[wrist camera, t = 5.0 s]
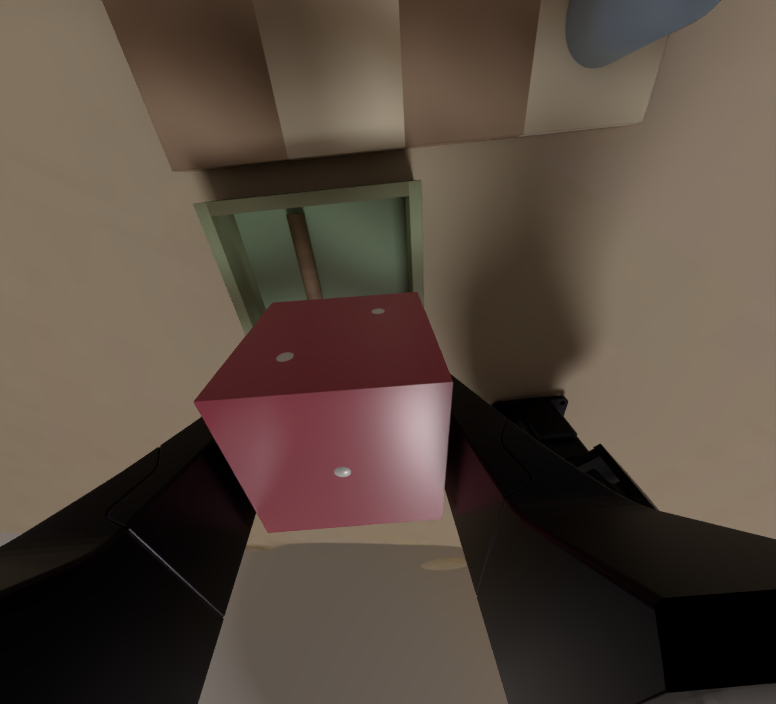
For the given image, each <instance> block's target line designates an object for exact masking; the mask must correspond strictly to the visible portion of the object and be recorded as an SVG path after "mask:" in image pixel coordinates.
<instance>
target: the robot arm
mask: <svg viewBox="0 0 776 704" xmlns="http://www.w3.org/2000/svg"><path fill="white" fill-rule="evenodd" d="M450 375H451V374H450ZM451 378H452V380H453V389H452V401H451V413H450V425H449V438H448V450H447V462H446V474H445V486H444V488H445V491H446V494H447V498H448V501H449V504H450V508H451V511H452V515H453V518H454V521H455V525H456V528H457V532H458V535H459V538H460V542H461V545H462V548H463V552H464V555H465V559H466V562H467V565H468V569H469V572H470V575H471V579H472V582H473V586H474V589H475V592H476V595H477V599H478V603H479V606H480V610H481V613H482V616H483V619H484V623H485V627H486V630H487V633H488V636H489V640H490V643H491V647H492V650H493V654H494V657H495V660H496V663H497V667H498V670H499V674H500V677H501V681H502V684H503V687H504V691H505V694H506V697H507V701H508V704H776V539H772V538H768V537H764V536H760V535H756V534H752V533H748V532H744V531H740V530H736V529H731V528H727V527H723V526H719V525H715V524H711V523H707V522H703V521H699V520H695V519H690V518H686V517H682V516H678V515H674V514H670V513H666V512H662V511H659V510H658V508H657V507H656V506H655V505H654V504H653V502H652V501H651V500H650V499H649V498H648V497H647V495H646V494H645V493H644V492H643V491H642V490H641V488H640V487H639V486H638V485H637V484H636V483H635V482H634V480H633V479H632V478H631V477H630V476H629V475H628V473H627V472H626V471H625V470H624V469H623V468H622V467H621V466H620V465H619V463H618V462H617V461H616V460H615V459H614V458H613V457H612V456H611V455H610V454H609V452H608V451H607V450H606V449H605V448H604V447H603V446H602V445H601V444H599V445H597V446H595V447H593V448H594V449H592V450H590V451H588V450H587V448H586V447H585V446H584V444H583V443H582V442H581V441H580V439H579V438H578V437H577V433H576V432H575V430H574V429H573V428H572V427H571V425H570V424H569V423H568V421H567V420H566V419H565V418H564V413H565V410H566V407H567V404H568V400H567V399H566V398H565V397H564V396H553V397H542V398H532V399H521V400H510V401H499V402H495V403H494V404H493V405H492V406H491V405H490V404H488V403H487V402H486V401H484V400H483V399H482V398H481V397H479V396H478V395H477V394H475V393H474V392H473V391H472V390H470V389H469V388H468V387H467V386H465V385H464V384H463V383H461V382H460V381H459V380H458V379H456V378H455V377H454V376H452V375H451ZM498 407H499V408H498ZM255 515H256V511H255V509H254V507H253V506H252V504H251V502H250V500H249V499H248V497H247V495H246V493H245V492H244V490H243V488H242V486H241V485H240V483H239V481H238V479H237V478H236V476H235V474H234V472H233V471H232V469H231V467H230V465H229V463H228V462H227V460H226V458H225V456H224V455H223V453H222V451H221V449H220V448H219V446H218V444H217V442H216V441H215V439H214V437H213V435H212V434H211V432H210V430H209V428H208V427H207V425H206V423H205V421H204V420H203V418H202V417H201V418H199V419H198V420H196V421H195V422H194V423H192V424H191V425H189V426H188V427H186V428H185V429H183V430H182V431H181V432H179V433H178V434H176V435H175V436H173V437H172V438H170V439H169V440H168V441H166V442H165V443H163V444H162V445H161V446H160V447H158V448H156V449H154V450H153V451H152V452H150V453H149V454H147V455H146V456H144V457H143V458H141V459H140V460H138V461H137V462H136V463H134V464H133V465H131V466H130V467H128V468H127V469H125V470H124V471H122V472H121V473H119V474H118V475H116V476H114V477H113V478H111V479H110V480H108V481H106V482H105V483H103V484H102V485H100V486H99V487H97V488H95V489H94V490H92V491H91V492H89V493H87V494H86V495H84V496H83V497H81V498H79V499H78V500H76V501H75V502H73V503H71V504H70V505H68V506H67V507H65V508H63V509H62V510H60V511H59V512H57V513H55V514H54V515H52V516H51V517H49V518H47V519H46V520H44V521H42V522H41V523H39V524H38V525H36V526H34V527H33V528H31V529H30V530H28V531H26V532H25V533H23V534H22V535H20V536H18V537H17V538H15V539H13V540H12V541H10V542H8V543H6V544H5V545H3V546H1V547H0V704H198V701H199V698H200V695H201V691H202V688H203V685H204V682H205V679H206V675H207V672H208V669H209V665H210V662H211V659H212V656H213V652H214V649H215V646H216V643H217V639H218V636H219V633H220V630H221V626H222V623H223V620H224V619H223V617H224V615H225V612H226V609H227V606H228V603H229V599H230V596H231V593H232V589H233V586H234V583H235V580H236V577H237V573H238V570H239V567H240V564H241V560H242V557H243V554H244V551H245V547H246V544H247V541H248V538H249V534H250V531H251V528H252V525H253V521H254V518H255Z"/></svg>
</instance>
